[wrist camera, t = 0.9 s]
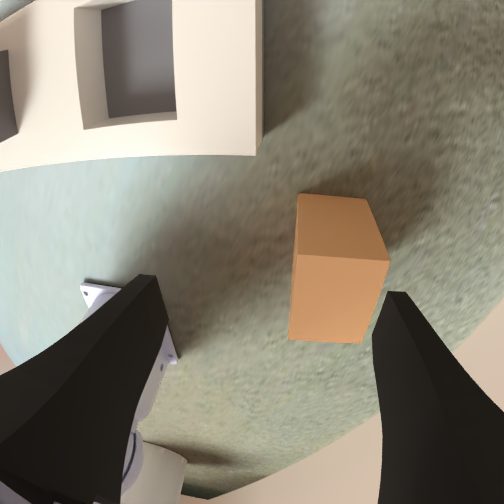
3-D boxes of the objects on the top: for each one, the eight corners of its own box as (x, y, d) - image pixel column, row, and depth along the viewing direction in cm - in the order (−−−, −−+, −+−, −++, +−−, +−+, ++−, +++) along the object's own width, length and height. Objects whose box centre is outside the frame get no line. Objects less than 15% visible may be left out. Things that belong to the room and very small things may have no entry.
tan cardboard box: (350, 272, 20) (361, 343, 15) (292, 268, 20) (287, 339, 16) (365, 198, 17) (390, 261, 12) (298, 192, 17) (297, 254, 12)
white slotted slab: (263, -38, 10) (240, -96, 4) (263, 136, 16) (242, 187, 10) (-17, 51, 12) (-84, 73, 7) (-2, 159, 18) (-60, 200, 12)
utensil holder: (121, 431, 51) (97, 501, 37) (190, 453, 51) (171, 527, 37) (132, 449, 60) (113, 507, 45) (190, 467, 59) (175, 527, 45)
